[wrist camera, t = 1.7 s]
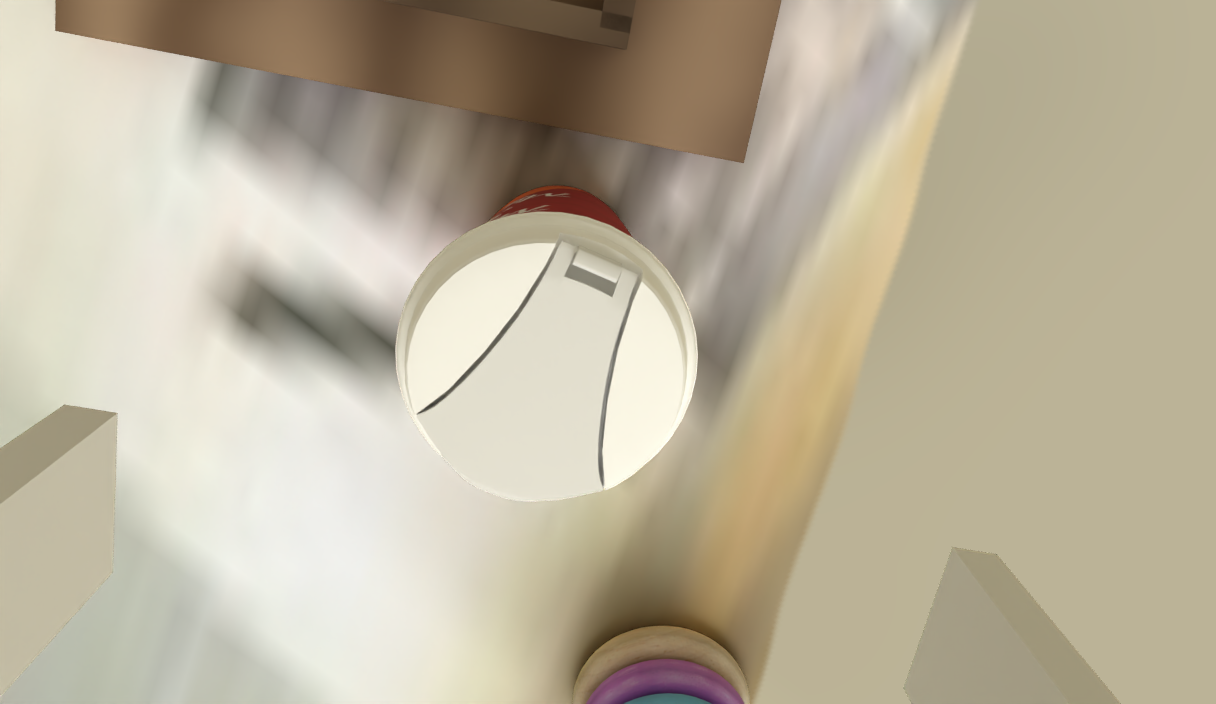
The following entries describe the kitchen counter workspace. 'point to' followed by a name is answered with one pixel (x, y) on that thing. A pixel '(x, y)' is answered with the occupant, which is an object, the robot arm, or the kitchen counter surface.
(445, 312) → the paper cup
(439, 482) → the kitchen counter surface
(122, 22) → the assembly base
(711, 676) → the stacking toy
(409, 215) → the kitchen counter surface
